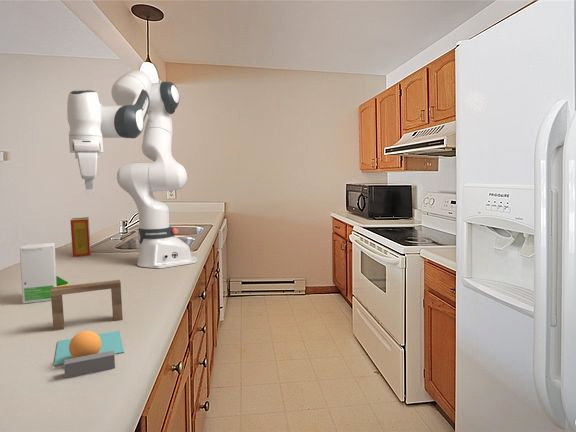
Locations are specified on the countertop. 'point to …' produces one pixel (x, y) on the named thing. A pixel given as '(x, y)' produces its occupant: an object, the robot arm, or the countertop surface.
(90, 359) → the stopper
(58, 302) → the bridge
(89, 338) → the ball
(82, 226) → the baking soda box
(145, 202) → the robot arm
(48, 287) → the skincare box
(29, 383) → the countertop surface
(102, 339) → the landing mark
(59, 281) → the dish sponge
